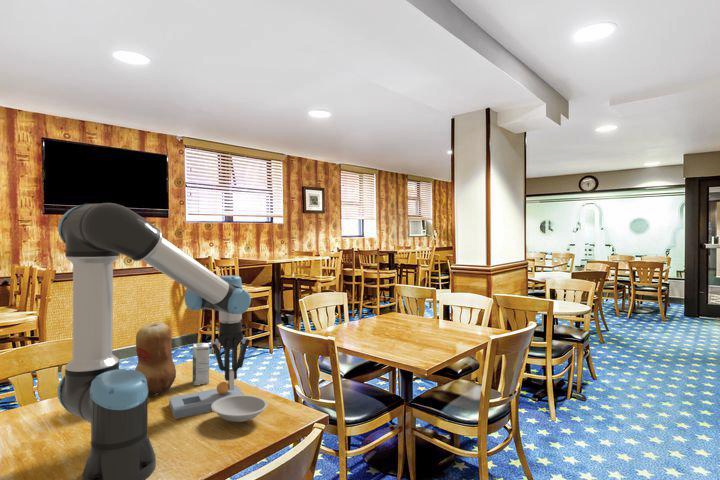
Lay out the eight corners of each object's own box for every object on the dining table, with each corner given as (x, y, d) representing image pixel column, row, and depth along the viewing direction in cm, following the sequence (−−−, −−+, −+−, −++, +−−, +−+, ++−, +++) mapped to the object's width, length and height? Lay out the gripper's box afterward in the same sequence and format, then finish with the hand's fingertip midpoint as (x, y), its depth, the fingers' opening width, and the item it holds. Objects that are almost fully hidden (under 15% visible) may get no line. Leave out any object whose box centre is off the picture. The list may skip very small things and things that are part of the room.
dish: (277, 415, 129) (277, 399, 129) (250, 436, 116) (250, 419, 115) (230, 407, 135) (230, 392, 135) (199, 426, 122) (199, 409, 121)
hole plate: (245, 403, 138) (245, 396, 138) (174, 419, 126) (174, 411, 126) (235, 391, 148) (235, 384, 148) (169, 405, 136) (169, 397, 136)
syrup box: (192, 381, 158) (192, 343, 158) (208, 378, 161) (208, 342, 160) (193, 386, 153) (192, 347, 153) (209, 383, 155) (209, 345, 155)
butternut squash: (124, 398, 141) (123, 326, 141) (154, 384, 154) (153, 318, 154) (156, 403, 137) (156, 329, 137) (184, 389, 150) (184, 321, 150)
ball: (232, 387, 139) (223, 381, 138) (225, 398, 138) (215, 392, 136) (229, 383, 143) (220, 378, 141) (222, 394, 141) (212, 388, 140)
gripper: (246, 316, 147) (246, 382, 147) (208, 320, 140) (208, 389, 141) (252, 320, 141) (252, 388, 141) (213, 325, 134) (213, 396, 134)
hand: (230, 388), depth 141 cm, fingers closed
